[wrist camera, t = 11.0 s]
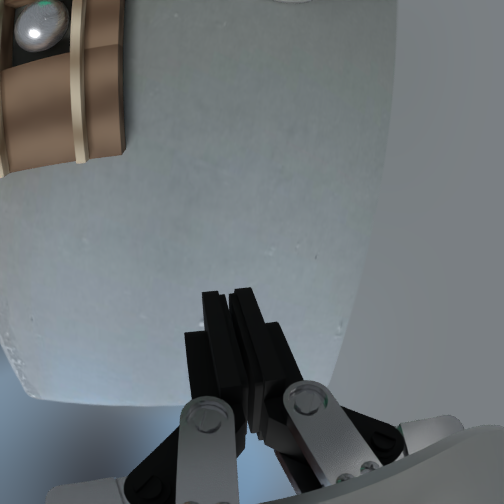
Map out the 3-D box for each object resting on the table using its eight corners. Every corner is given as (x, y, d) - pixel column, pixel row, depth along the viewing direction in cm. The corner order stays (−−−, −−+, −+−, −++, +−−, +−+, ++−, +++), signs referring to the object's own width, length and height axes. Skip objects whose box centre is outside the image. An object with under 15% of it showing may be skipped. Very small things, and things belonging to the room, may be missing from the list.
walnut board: (-13, 2, 17) (-32, -3, 14) (128, -37, 21) (122, -51, 17) (-8, 171, 28) (-26, 183, 25) (125, 149, 32) (119, 158, 28)
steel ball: (43, 38, 18) (24, 72, 22) (89, 15, 22) (64, 47, 25) (15, -1, 15) (-2, 36, 19) (62, -20, 18) (39, 14, 22)
